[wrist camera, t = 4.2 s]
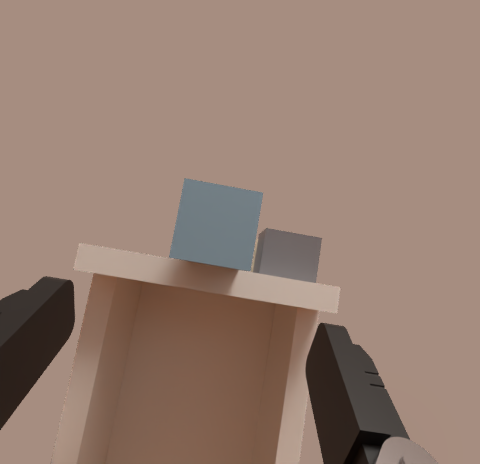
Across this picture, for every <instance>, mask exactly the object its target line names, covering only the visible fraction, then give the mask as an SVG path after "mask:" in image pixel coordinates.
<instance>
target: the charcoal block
mask: <svg viewBox="0 0 480 464" xmlns="http://www.w3.org/2000/svg"><path fill="white" fill-rule="evenodd" d="M321 240H322V238H318V237H313V236H307V235H302V234H296V233H290V232H285V231H279V230H274V229H268V228H266V229H265V230H264V231H262V232H261V233H260V234H259V237H258V243H257V250H256V256H255V262H254V268H253V273H259V274H265V275H271V276H277V277H283V278H288V279H294V280H300V281H306V282H312V283H316V277H317V270H318V263H319V255H320V248H321Z"/></svg>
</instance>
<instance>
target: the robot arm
mask: <svg viewBox="0 0 480 464" xmlns="http://www.w3.org/2000/svg"><path fill="white" fill-rule="evenodd" d="M74 322H75V310H74V285H73V282H72V281H71V280H65V279H59V278H53V277H47V276H46V277H43V278H42V279H40V280H39V281H38V282H37V283H36V284H34V285H33V286H32V287H31V288H30V289H29V290H20V291H18V292H16V293H14V294H11V295H9V296H7V297H5V298H3V299H2V300H0V430H1V428H2V427H3V426H4V424H5V423H6V422H7V420H8V419H9V418H10V416H11V415H12V414H13V412H14V411H15V410H16V408H17V406H19V404H20V403H21V401H22V400H23V399H24V398H25V396H26V395H27V394H28V392H29V391H30V389H31V388H32V387H33V386H34V384H35V383H36V382H37V380H38V378H40V376H41V375H42V374H43V372H44V371H45V370H46V368H47V366H49V364H50V363H51V362H52V360H53V359H54V357H55V356H56V355H57V353H58V352H59V351H60V349H61V348H62V347H63V345H64V344H65V343H66V341H67V340H68V339H69V337H70V335H71V333H72V330H73V327H74ZM305 374H306V380H307V385H308V390H309V395H310V400H311V404H312V409H313V414H314V419H315V424H316V429H317V433H318V438H319V443H320V448H321V453H322V458H323V462H324V464H438V462H437V461H436V460H435V459H434V458H433V457H432V456H431V454H429V453H428V452H427V451H426V450H425V449H424V448H422V447H421V446H420V445H418V444H416V443H415V442H413V441H411V440H410V438H409V436H408V434H407V432H406V430H405V428H404V426H403V424H402V421H401V420H400V417H399V415H398V413H397V411H396V409H395V407H394V405H393V403H392V400H391V398H390V396H389V394H388V392H387V390H386V389H384V384H383V382H382V379H381V378H380V376H378V374H379V373H378V371H377V369H376V367H375V365H374V363H373V361H372V359H371V358H370V356H369V355H368V354H367V353H366V352H365V351H364V350H363V349H362V348H361V346H360V345H355V344H352V341H351V339H350V336H349V334H348V332H347V330H346V328H345V327H344V326H339V325H332V324H326V323H320V324H319V326H318V328H317V331H316V333H315V336H314V339H313V342H312V345H311V347H310V350H309V353H308V356H307V359H306V367H305Z"/></svg>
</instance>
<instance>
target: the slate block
mask: <svg viewBox="0 0 480 464" xmlns="http://www.w3.org/2000/svg"><path fill="white" fill-rule="evenodd" d="M262 197H263V193H262V192H256V191H251V190H245V189H240V188H235V187H229V186H224V185H218V184H213V183H207V182H202V181H197V180H191V179H186V178H185V179H184V184H183V189H182V195H181V200H180V205H179V210H178V215H177V220H176V225H175V230H174V235H173V241H172V245H171V250H170V255H169V257H170V258H174V259H179V260H184V261H189V262H195V263H201V264H207V265H212V266H218V267H224V268H230V269H236V270H243V271H250V270H251V264H252V258H253V252H254V245H255V240H256V233H257V227H258V221H259V214H260V209H261V203H262Z"/></svg>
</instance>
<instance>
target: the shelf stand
mask: <svg viewBox="0 0 480 464" xmlns="http://www.w3.org/2000/svg"><path fill="white" fill-rule="evenodd" d="M73 270H79V271H85V272H91V273H94V274H93V279H92V283H91V288H90V292H89V296H88V301H87V305H86V310H85V314H84V319H83V323H82V327H81V332H80V336H79V341H78V345H77V349H76V354H75V358H74V363H73V367H72V371H71V376H70V380H69V385H68V389H67V394H66V398H65V402H64V407H63V411H62V416H61V420H60V425H59V429H58V433H57V438H56V442H55V446H54V451H53V455H52V460H51V464H299V459H300V453H301V445H302V438H303V430H304V423H305V415H306V408H307V400H308V393H309V390H308V385H307V380H306V374H305V367H306V359H307V356H308V353H309V350H310V347H311V345H312V342H313V339H314V336H315V333H316V331H317V325H318V318H319V311H325V312H331V313H337V310H338V302H339V294H340V287H335V286H329V285H324V284H317V283H312V282H306V281H300V280H294V279H288V278H283V277H277V276H271V275H265V274H259V273H253V272H247V271H242V270H236V269H230V268H224V267H218V266H212V265H207V264H201V263H195V262H189V261H183V260H177V259H171V258H165V257H160V256H154V255H148V254H142V253H136V252H130V251H124V250H118V249H113V248H107V247H101V246H95V245H89V244H83V243H79V247H78V252H77V256H76V260H75V264H74V269H73Z"/></svg>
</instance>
